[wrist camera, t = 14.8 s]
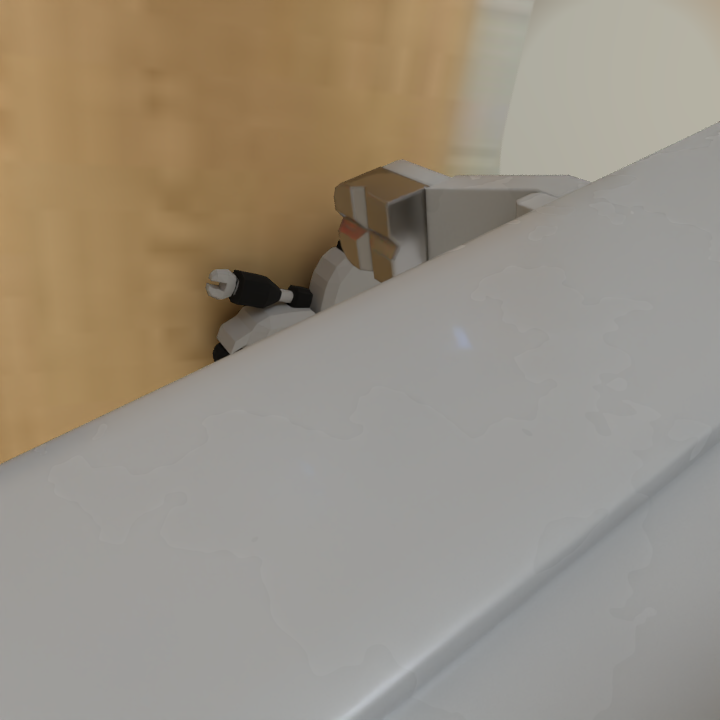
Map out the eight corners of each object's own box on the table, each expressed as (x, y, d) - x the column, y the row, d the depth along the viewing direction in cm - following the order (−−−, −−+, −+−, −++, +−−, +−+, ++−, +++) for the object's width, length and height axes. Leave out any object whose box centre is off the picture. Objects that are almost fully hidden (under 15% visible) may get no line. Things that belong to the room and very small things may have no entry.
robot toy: (210, 416, 44) (393, 354, 50) (236, 454, 40) (427, 382, 47) (182, 248, 37) (397, 201, 44) (210, 277, 34) (438, 222, 40)
